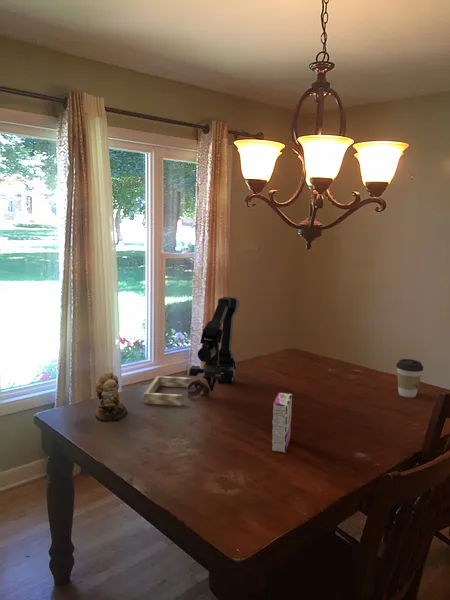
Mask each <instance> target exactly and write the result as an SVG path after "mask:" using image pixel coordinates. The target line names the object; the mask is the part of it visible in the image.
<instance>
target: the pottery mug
mask: <svg viewBox="0 0 450 600" xmlns="http://www.w3.org/2000/svg"><path fill="white" fill-rule="evenodd" d="M191 387H195V389H193V390H190V389H191ZM201 393H203V395H208V398H209V399H211V391H210V388H209V385H207V383H205V382H203V381H202V380H201V379H196V380H193V381H191V383H190V384H189V385H188V386H187V387H186V396H187V398H188V399H189V398H193V397H197V396H201V395H202V394H201Z"/></svg>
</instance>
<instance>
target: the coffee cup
mask: <svg viewBox="0 0 450 600" xmlns="http://www.w3.org/2000/svg"><path fill="white" fill-rule="evenodd" d="M395 367H396V369H397V390H398V395H399V396H401V397H404V398H415V397H416V396H417V393H418V389H419V386H420V381H421V376H422V373H423V371H424V366H423V364H422V362H421V361H419V360H416V359H413V358H411V359H410V358H401V359H399V360H398V361H397V363H396V365H395Z"/></svg>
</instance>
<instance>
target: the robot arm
mask: <svg viewBox="0 0 450 600" xmlns="http://www.w3.org/2000/svg"><path fill="white" fill-rule="evenodd" d="M239 307H240V300H238V298H237V297H233V296H231V297H230V296H223V297H220V298H218V300H217V306H216V307H215V311H214V314H213V316H212V317H211V320H209V321H208V322H206V325H205V326H204V328H203V330H202V332H201V333H202V334H201V338H200V342H199V344H202V345H201V346H202V347H201V348H199V349H198V351H197V358H198V360H199V361H201V362H203V363H205V364H204V366H203V367H204V368H201V366H200V365H191V366H190V368H189V370H188V376H191V377H197V376H198V375H199V374H202V375H203V376H202V378H203V379H205V380H206V382H207V384H208V385H207V386H208V388H209V391H210V392H213V390H214V388H215V385H216V382H217V384H221V385H224V384H225V385H232V384H233V383H234V382H233V381H234V379H233V378H234V377H235V371H237V363H236V362H237V361H236V360H235V354H234V352H233V350H232V341H233V339H232V338H233V330H234V329H233V326H234V317H235V315H236V314H237V313H238V309H239Z"/></svg>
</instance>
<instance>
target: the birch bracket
mask: <svg viewBox="0 0 450 600" xmlns="http://www.w3.org/2000/svg"><path fill="white" fill-rule="evenodd" d="M191 379H192V377H186V376H185V377H183V376H164V375H156V376H155V378H154V379H153V380H152V382H151V383H150V385H149V386H148V387H147V389H146V390H145V391H144V393H143V404H148V405H149V404H150V405H167V406H168V405H170V406H183V394H174V393H159V392H156V391H157V390H158V389H159V387H163V386H164V387H175V388H177V387H178V388H187V386H188V385H189V384H190V383H191V382H192V380H191Z"/></svg>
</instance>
